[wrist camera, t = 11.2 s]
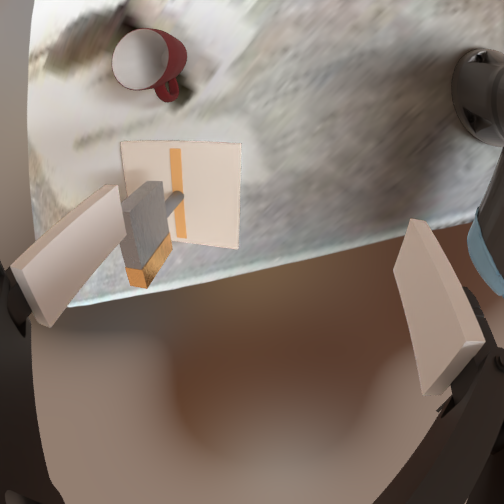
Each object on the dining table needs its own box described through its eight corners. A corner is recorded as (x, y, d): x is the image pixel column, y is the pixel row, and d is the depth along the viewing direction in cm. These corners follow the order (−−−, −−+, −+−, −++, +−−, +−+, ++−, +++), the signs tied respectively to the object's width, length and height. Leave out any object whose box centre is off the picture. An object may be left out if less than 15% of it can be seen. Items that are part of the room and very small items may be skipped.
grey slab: (146, 180, 39) (111, 211, 32) (163, 181, 39) (129, 212, 31) (157, 247, 45) (130, 285, 38) (172, 249, 45) (147, 288, 37)
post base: (241, 143, 42) (228, 159, 36) (239, 246, 53) (228, 275, 46) (123, 141, 45) (95, 156, 38) (136, 233, 55) (115, 257, 48)
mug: (214, 83, 38) (189, 88, 29) (168, 106, 40) (134, 118, 32) (186, 23, 33) (154, 15, 25) (141, 50, 35) (102, 51, 27)
